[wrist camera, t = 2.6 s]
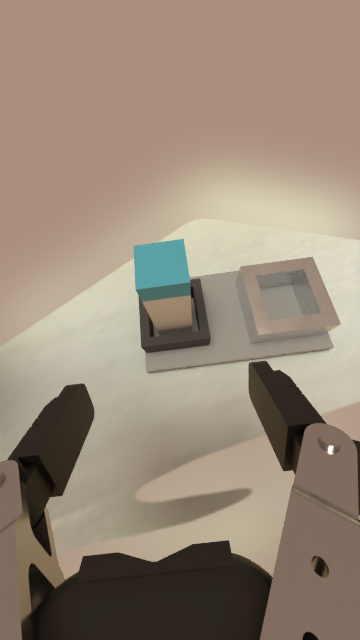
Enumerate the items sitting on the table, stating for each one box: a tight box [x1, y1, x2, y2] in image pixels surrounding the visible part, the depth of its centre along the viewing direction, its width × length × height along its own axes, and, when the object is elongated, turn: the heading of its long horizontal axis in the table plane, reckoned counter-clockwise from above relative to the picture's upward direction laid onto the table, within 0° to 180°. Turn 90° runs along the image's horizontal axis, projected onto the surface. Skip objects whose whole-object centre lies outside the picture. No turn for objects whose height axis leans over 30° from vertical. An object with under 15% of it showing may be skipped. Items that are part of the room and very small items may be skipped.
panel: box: [145, 271, 334, 373], centre depth 28 cm, size 22×12×1 cm, turn 97°
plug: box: [134, 239, 192, 336], centre depth 22 cm, size 4×4×12 cm
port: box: [235, 257, 341, 344], centre depth 26 cm, size 9×9×4 cm
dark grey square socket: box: [139, 278, 211, 353], centre depth 26 cm, size 8×8×3 cm
